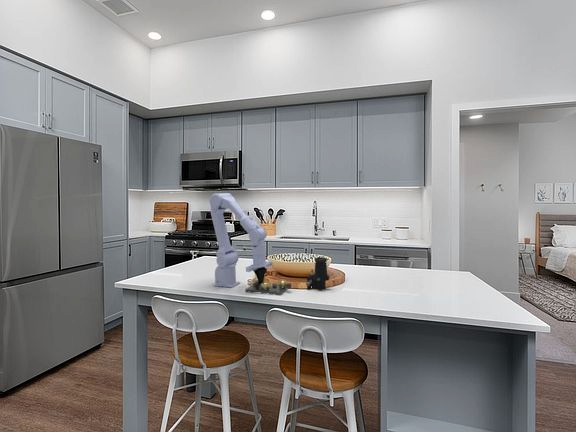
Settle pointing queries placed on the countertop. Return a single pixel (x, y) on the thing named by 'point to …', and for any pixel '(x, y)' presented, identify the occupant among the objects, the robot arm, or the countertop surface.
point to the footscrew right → (268, 285)
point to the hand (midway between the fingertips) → (260, 284)
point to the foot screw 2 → (284, 284)
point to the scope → (318, 275)
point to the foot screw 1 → (255, 282)
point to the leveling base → (271, 291)
